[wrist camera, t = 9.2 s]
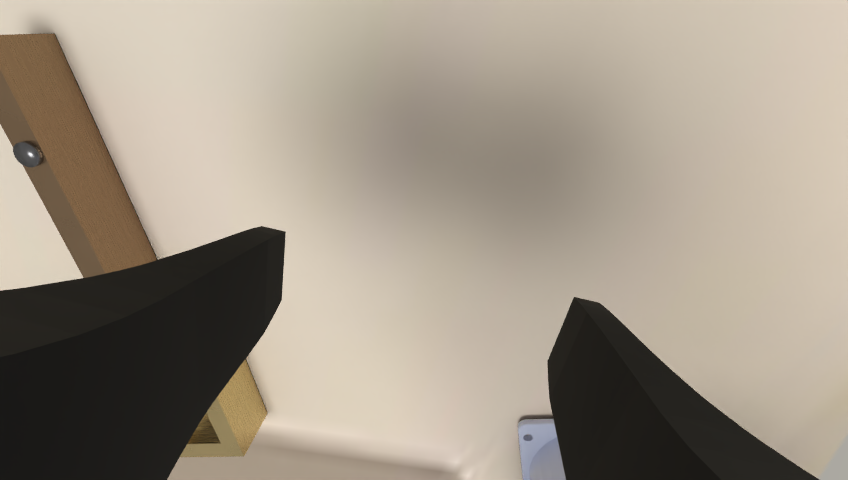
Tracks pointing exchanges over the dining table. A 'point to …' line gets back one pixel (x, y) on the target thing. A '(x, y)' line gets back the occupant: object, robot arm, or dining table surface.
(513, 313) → the dining table surface
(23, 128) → the hinge
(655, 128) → the dining table surface
